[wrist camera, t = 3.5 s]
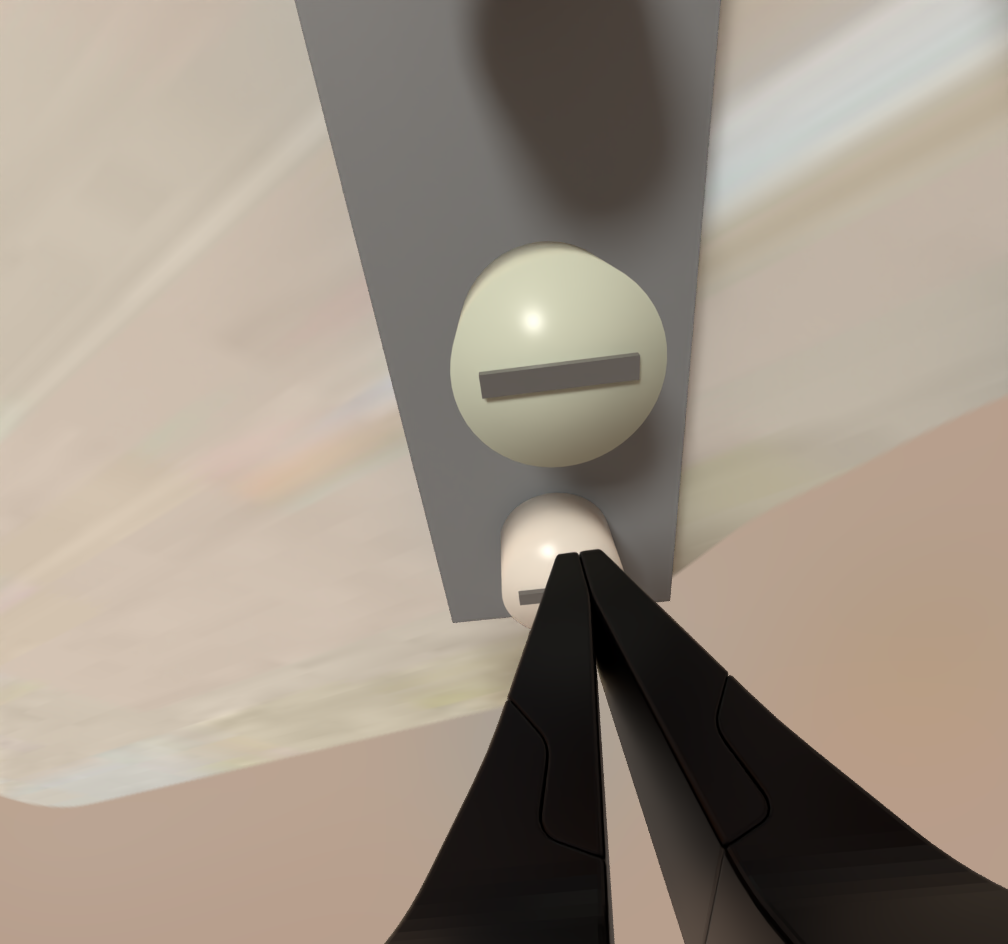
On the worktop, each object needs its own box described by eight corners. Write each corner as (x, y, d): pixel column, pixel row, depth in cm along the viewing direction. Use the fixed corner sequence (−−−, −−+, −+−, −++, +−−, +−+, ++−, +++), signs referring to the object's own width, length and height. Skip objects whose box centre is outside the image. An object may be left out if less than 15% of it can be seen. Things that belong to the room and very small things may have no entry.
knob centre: (601, 220, 14) (678, 241, 8) (603, 364, 16) (664, 459, 10) (454, 241, 14) (429, 275, 8) (476, 380, 16) (468, 482, 11)
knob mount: (691, -364, 11) (770, -583, 8) (648, 550, 24) (669, 600, 21) (262, -284, 11) (177, -460, 8) (457, 570, 25) (452, 623, 22)
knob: (591, 444, 21) (629, 539, 15) (593, 523, 23) (627, 631, 17) (493, 455, 21) (494, 554, 15) (505, 532, 23) (509, 643, 18)
